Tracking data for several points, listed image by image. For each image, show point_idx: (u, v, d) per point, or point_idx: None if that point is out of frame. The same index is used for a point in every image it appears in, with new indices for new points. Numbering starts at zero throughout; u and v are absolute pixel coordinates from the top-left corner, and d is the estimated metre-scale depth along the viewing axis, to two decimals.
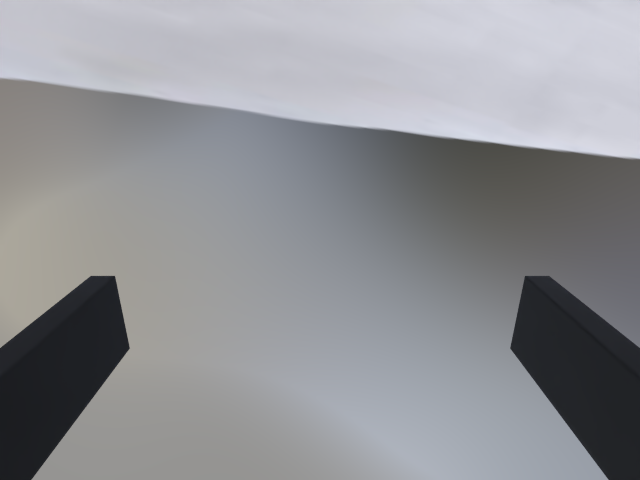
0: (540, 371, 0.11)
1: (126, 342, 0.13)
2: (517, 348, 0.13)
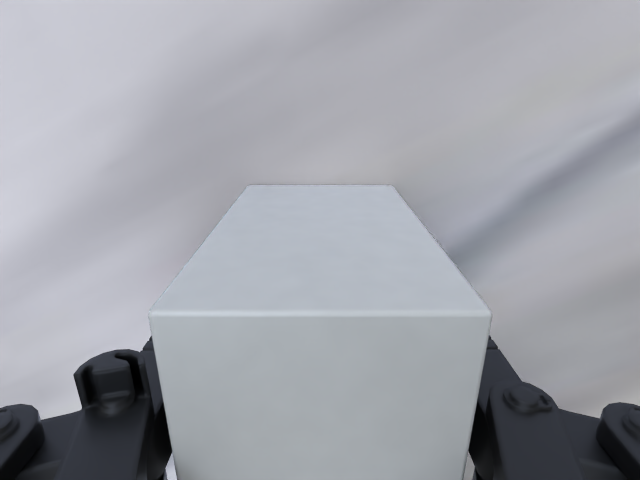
0: None
1: None
2: None
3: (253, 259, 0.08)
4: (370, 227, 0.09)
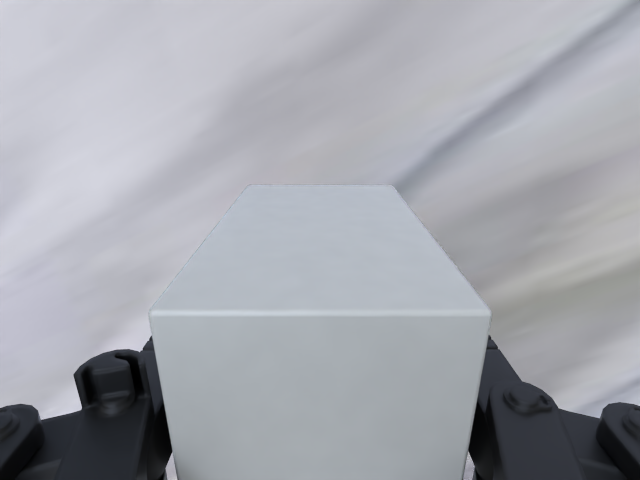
0: None
1: None
2: None
3: (253, 258, 0.08)
4: (370, 227, 0.09)
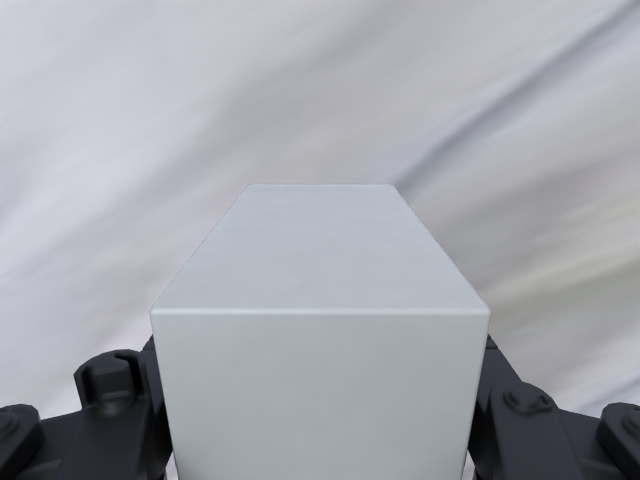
0: None
1: None
2: None
3: (253, 257, 0.08)
4: (370, 226, 0.09)
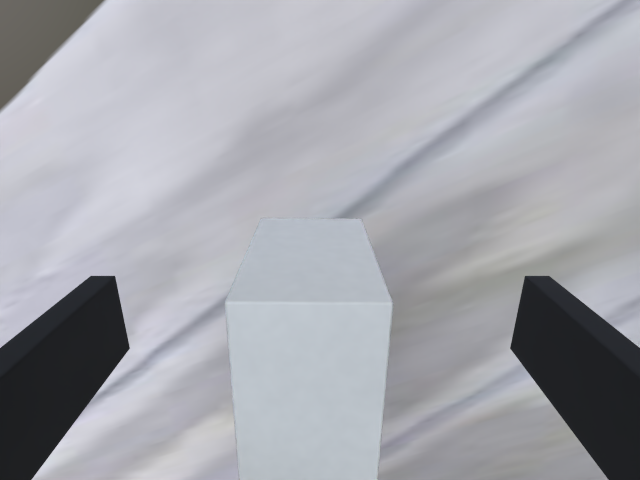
0: (540, 371, 0.11)
1: (126, 342, 0.13)
2: (517, 348, 0.13)
3: (273, 273, 0.14)
4: (340, 253, 0.15)
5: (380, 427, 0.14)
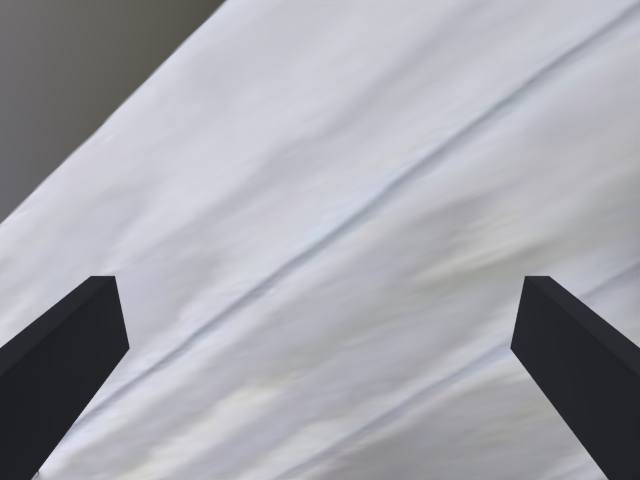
0: (540, 371, 0.11)
1: (126, 342, 0.13)
2: (517, 348, 0.13)
3: None
4: None
5: None
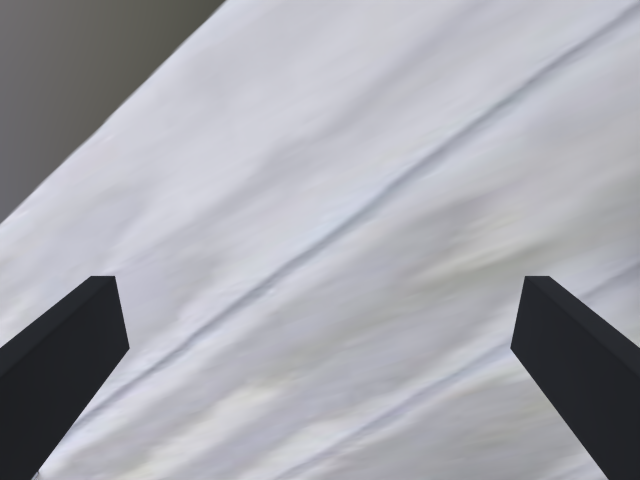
0: (540, 371, 0.11)
1: (126, 342, 0.13)
2: (517, 348, 0.13)
3: None
4: None
5: None
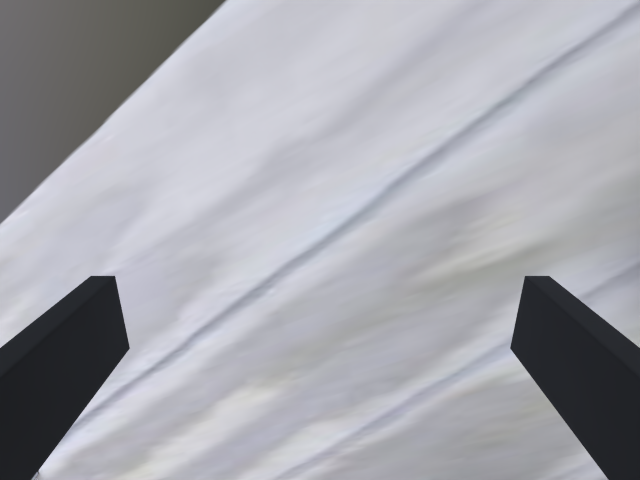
0: (540, 371, 0.11)
1: (126, 342, 0.13)
2: (517, 348, 0.13)
3: None
4: None
5: None
